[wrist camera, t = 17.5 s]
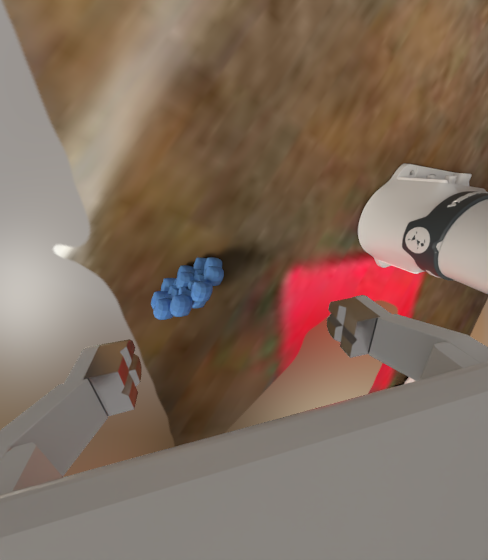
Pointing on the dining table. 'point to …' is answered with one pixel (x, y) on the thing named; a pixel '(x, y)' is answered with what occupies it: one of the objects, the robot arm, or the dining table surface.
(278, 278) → the dining table surface
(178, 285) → the grapes
